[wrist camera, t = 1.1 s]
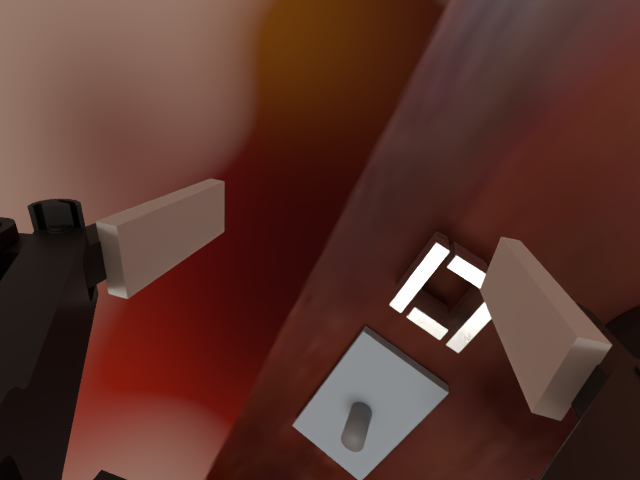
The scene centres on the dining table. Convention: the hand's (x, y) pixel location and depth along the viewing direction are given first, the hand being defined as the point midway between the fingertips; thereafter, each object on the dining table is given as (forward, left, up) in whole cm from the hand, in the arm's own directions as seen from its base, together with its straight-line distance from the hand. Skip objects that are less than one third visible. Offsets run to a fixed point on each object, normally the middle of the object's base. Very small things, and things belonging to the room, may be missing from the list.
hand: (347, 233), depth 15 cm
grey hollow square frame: (-10, +5, -22) cm, 25 cm away
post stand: (-12, +26, -22) cm, 36 cm away
